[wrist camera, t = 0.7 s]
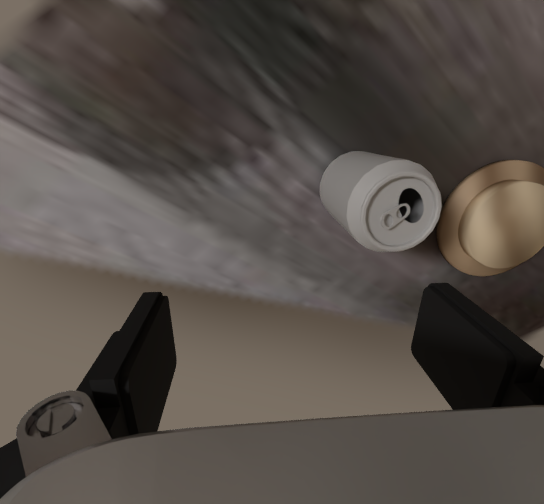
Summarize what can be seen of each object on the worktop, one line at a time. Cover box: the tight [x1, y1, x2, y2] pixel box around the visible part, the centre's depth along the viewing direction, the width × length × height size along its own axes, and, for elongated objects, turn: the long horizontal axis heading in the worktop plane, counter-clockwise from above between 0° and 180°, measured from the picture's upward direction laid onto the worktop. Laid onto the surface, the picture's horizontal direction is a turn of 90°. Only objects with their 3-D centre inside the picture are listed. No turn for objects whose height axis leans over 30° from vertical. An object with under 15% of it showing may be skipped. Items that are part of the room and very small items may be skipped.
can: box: [320, 151, 442, 252], centre depth 28 cm, size 8×8×12 cm
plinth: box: [436, 160, 544, 276], centre depth 35 cm, size 14×14×3 cm
